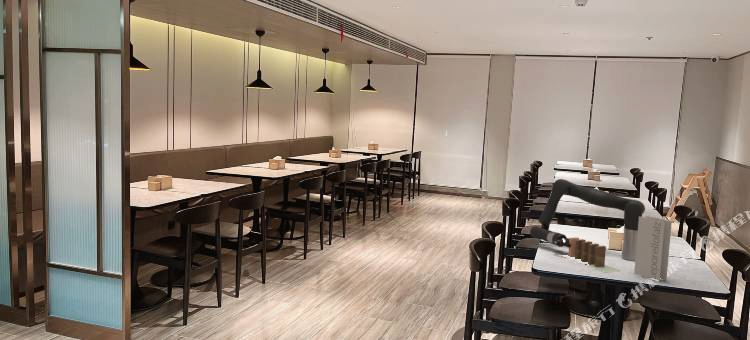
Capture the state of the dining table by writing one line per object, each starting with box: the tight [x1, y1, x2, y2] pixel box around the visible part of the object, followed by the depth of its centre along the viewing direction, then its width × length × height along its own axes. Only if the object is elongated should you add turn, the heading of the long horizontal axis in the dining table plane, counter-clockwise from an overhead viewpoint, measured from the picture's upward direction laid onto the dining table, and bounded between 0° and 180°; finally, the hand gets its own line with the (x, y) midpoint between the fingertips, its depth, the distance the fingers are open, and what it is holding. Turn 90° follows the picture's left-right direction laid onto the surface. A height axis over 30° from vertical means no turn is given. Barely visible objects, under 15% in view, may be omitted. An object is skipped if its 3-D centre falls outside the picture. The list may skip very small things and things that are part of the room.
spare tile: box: [567, 236, 580, 257], centre depth 317 cm, size 2×5×11 cm, turn 113°
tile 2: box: [575, 238, 587, 259], centre depth 313 cm, size 2×5×11 cm, turn 112°
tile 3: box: [581, 240, 593, 262], centre depth 308 cm, size 2×5×11 cm, turn 112°
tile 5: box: [594, 245, 607, 267], centre depth 299 cm, size 2×5×11 cm, turn 112°
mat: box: [588, 264, 622, 273], centre depth 307 cm, size 36×11×1 cm, turn 22°
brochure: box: [633, 215, 673, 282], centre depth 282 cm, size 14×6×30 cm, turn 27°
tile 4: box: [588, 243, 600, 265], centre depth 303 cm, size 2×5×11 cm, turn 112°
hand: (576, 245), depth 315 cm, fingers open, 8 cm apart
